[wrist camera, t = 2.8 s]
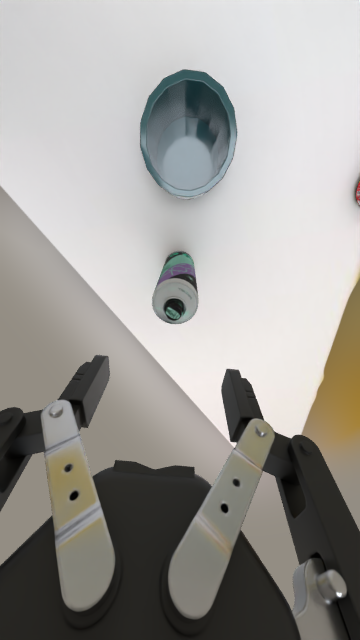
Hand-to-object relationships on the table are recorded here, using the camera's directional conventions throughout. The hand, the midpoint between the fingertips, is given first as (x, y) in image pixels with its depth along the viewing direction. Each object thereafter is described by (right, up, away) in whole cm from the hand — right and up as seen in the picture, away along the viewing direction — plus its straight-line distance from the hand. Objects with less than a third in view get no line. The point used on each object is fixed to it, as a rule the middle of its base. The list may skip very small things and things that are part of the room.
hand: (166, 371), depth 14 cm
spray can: (+1, +14, +25) cm, 29 cm away
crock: (+2, +28, +17) cm, 33 cm away
